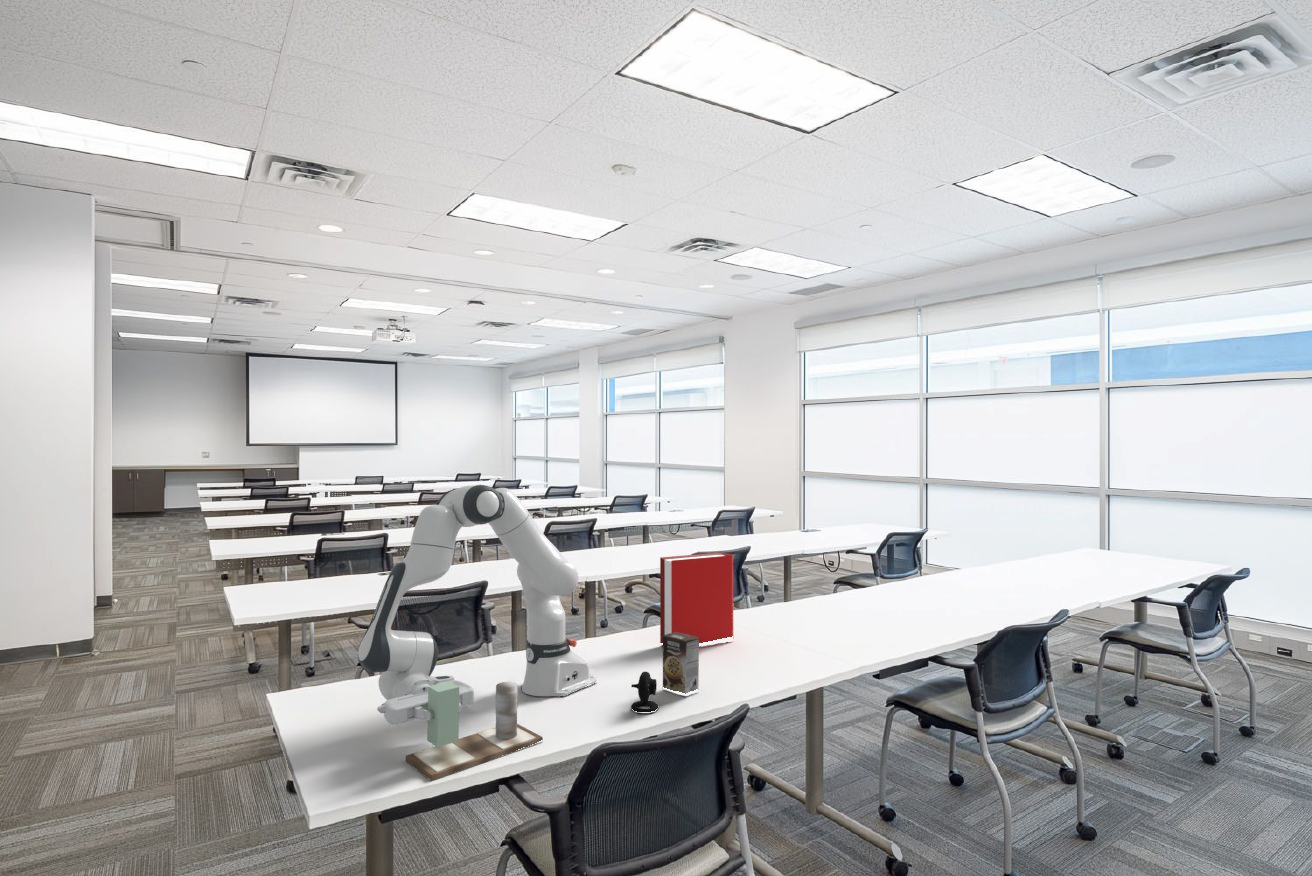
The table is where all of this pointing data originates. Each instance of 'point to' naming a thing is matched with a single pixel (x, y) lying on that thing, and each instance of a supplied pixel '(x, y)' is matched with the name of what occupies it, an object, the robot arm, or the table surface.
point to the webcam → (645, 693)
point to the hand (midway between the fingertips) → (445, 712)
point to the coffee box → (680, 662)
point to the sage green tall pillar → (443, 714)
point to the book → (697, 595)
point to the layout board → (478, 741)
